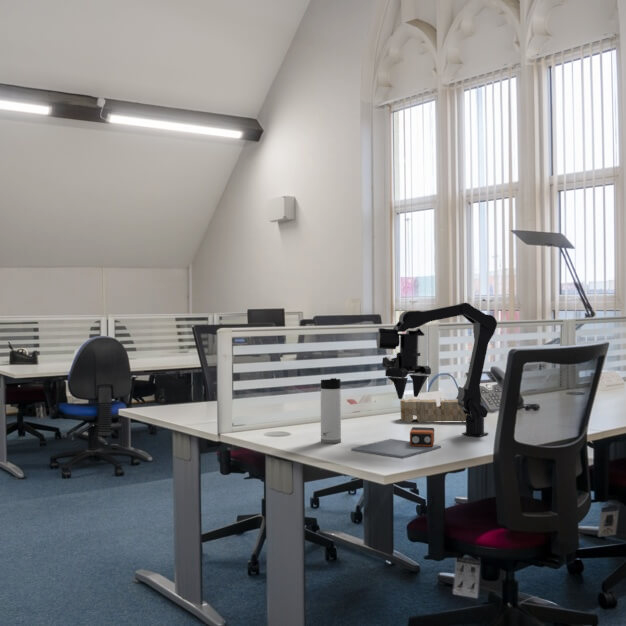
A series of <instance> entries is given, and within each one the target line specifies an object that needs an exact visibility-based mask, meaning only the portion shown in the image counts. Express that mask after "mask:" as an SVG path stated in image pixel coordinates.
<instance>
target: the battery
mask: <svg viewBox="0 0 626 626" xmlns="http://www.w3.org/2000/svg"><path fill="white" fill-rule="evenodd" d="M409 441H410V446H420V447H432V446H433V445H435V428H434V427H422V426H421V427H419V426H413V427H412V428H411V430H410V431H409Z"/></svg>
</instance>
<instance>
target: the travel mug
mask: <svg viewBox="0 0 626 626" xmlns="http://www.w3.org/2000/svg"><path fill="white" fill-rule="evenodd" d="M341 381H342V380H341V378H336V377H334V378H333V377H331V378H330V379H320V442H321V444H322V443H323V444H329V445H331V444H333V445H334V444H340V443H341V442H342V391H341V390H342V389H341Z"/></svg>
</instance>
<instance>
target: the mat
mask: <svg viewBox="0 0 626 626" xmlns="http://www.w3.org/2000/svg"><path fill="white" fill-rule="evenodd" d="M440 448H441V449H442V446H441V445H439V444H433V446H432V447H420V446H410V440H402V439H395V438H389V439H385V440H381V441H376V442H372V443H368V444H363V445H359V446H355V447H351V451H354V452H361V453H367V454H372V455H373V454H375V455H380V456H387V457H393V458H400V459H405V458H408V457H412V456H416V455H419V454H422V453H427V452H431V451H434V450H437V449H440Z"/></svg>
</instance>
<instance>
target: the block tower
mask: <svg viewBox="0 0 626 626" xmlns="http://www.w3.org/2000/svg"><path fill="white" fill-rule="evenodd" d="M399 400H400V402H399V403H400V405H399V406H400V421H401V422H405V423H410V422H409V421H413V422H414V416H415V417H416V422H417V421H466V414H464V411H463V409H461V408H460V406H459V405H458V399H456V398H455V399H443V400H439V402H440V405H437V399H420V398H419V399H417V398H416V399H412V398H411V399H405V398H402V399H399Z"/></svg>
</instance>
